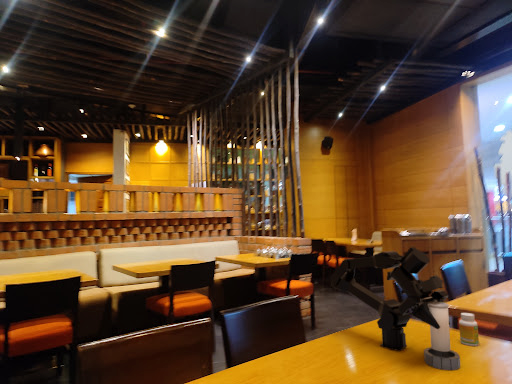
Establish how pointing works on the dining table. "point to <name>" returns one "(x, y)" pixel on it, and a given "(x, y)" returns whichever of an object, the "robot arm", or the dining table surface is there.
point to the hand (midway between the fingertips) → (444, 326)
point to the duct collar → (442, 359)
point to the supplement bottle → (468, 330)
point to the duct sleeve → (441, 335)
